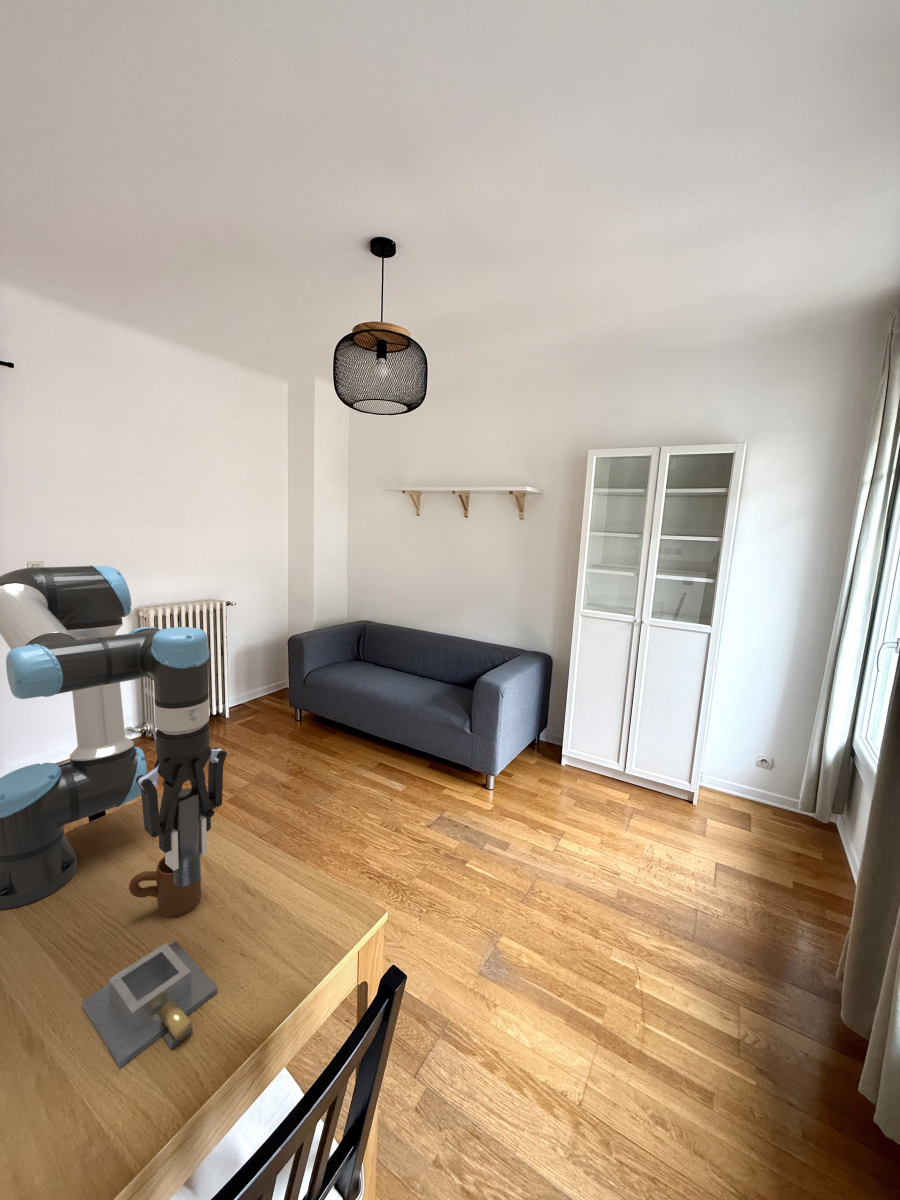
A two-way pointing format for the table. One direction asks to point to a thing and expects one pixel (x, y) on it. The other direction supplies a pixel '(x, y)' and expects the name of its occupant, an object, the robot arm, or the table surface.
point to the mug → (167, 890)
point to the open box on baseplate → (149, 1002)
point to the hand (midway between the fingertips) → (186, 857)
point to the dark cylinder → (187, 838)
